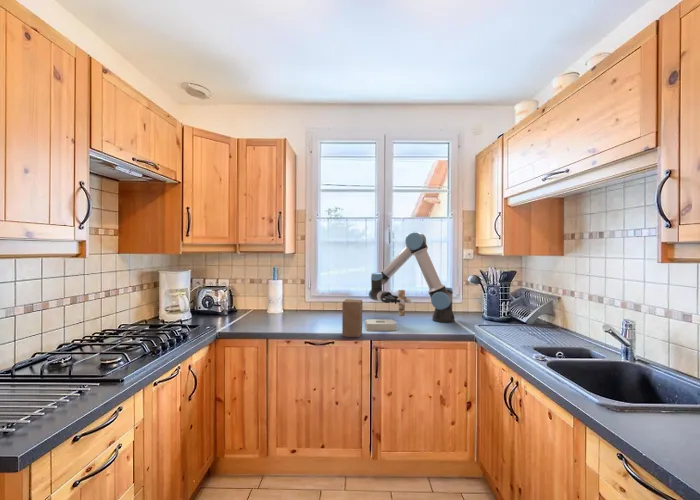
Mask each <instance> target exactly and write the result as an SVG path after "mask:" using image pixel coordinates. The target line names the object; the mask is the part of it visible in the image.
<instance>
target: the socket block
mask: <svg viewBox="0 0 700 500" xmlns="http://www.w3.org/2000/svg"><path fill="white" fill-rule="evenodd" d="M365 328H366V331H368V332H370V331H372V332H373V331H377V332H378V331H381V332H382V331H386V332H387V331H388V332H389V331H394V332H396V331H397V323H396V321H395V319H386V318H385V319H382V318H381V319H371V318H370V319H369V318H367V319H365Z"/></svg>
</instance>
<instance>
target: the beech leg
mask: <svg viewBox="0 0 700 500" xmlns="http://www.w3.org/2000/svg"><path fill="white" fill-rule="evenodd" d="M397 296H398V299H403V300H404V304H401V303H397V304H398V316H399V317H404V316H405V313H406V312H405V310H406V305H405V304H406V303H405V297H406V290H405V289H398V290H397Z"/></svg>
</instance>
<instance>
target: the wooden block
mask: <svg viewBox="0 0 700 500" xmlns="http://www.w3.org/2000/svg"><path fill="white" fill-rule="evenodd" d="M341 307H342V313H341V314H342V318H341V319H342V324H341V326H342V328H341V329H342V330H341V331H342V333H341V336H342V337H345V338H360V337H361V335H362V334H363V299H349V298H347V299H344V300H343V301H342V306H341Z"/></svg>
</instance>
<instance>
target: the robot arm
mask: <svg viewBox="0 0 700 500" xmlns="http://www.w3.org/2000/svg"><path fill="white" fill-rule="evenodd" d="M404 243H405V247H404V248H403V249H402V250H401V251H400V252H399V253H398V254H397V255H396V256H395V258H393V260H391V262H390V263H389V264H388V265H387V266H386V267H385V268H384V269H383V270H382V271H381V272H373V273H371V276H370V280H371V281H370V283H371V284H370V285H371V288H370V290H369V292H368V297H369V299H370V300H373V301H377V302H381V303H382V304H383V303H386V304H390V303H392V304H395V305H396V304H398V303H401V304H404V300H403V299H398V295H394V294H392V292H389V291H385V290H383V285H385V284H387V283H388V282H389V280H390V279H391V278H392V277H393V276H394V274H395V273H396V272H398V270H400V269H401V267H402V266H403V265H404V264H406V262H407V261H409V259H410V258H411V257H412V256H414V257H415V260H416V262H417V264H418V266H419V268H420V271H421V273H422V275H423V277H424V280H425V282H426V285H427V287H428V295H429V297H430V302H431V305H432V306H433V308H434V311H433V313H432V321H433V322H437V323H447V324H448V323H453V322H455V321H456V317H455V314H454V311H453V288H452V287H446V285H444V284H442V282H441V279H440V277H439V275H438V273H437V271H436V269H435V266H434V264H433V261H432V259H431V257H430V256H429V252H428V249H429V247H428V245H427V238H426V235H424V234H423V233H422V232H418V231H412V232H410V233H408V234H407V235H406V238H405V241H404ZM411 301H412V300H411V298H407V297H406V296H405V304H406V303H407V304H411V303H412V302H411Z"/></svg>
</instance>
